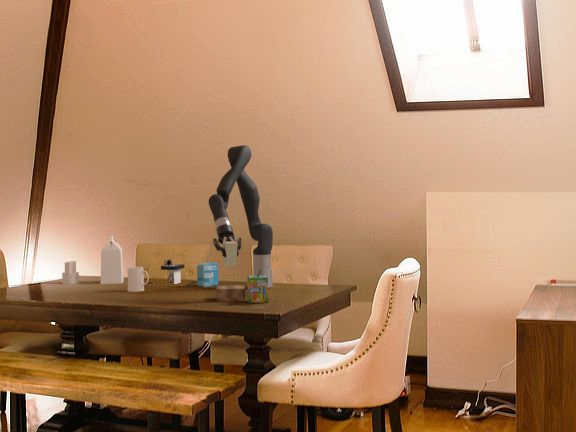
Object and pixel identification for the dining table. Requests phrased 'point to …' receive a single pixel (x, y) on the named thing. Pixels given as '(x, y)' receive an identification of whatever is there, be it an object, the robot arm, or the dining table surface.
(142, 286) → the mug
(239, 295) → the walnut block
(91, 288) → the dining table surface
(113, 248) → the milk
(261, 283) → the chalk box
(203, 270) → the data package
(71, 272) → the cylinder with rectangular tab
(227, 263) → the tea tin
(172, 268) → the black-topped pedestal
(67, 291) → the dining table surface
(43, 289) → the dining table surface
